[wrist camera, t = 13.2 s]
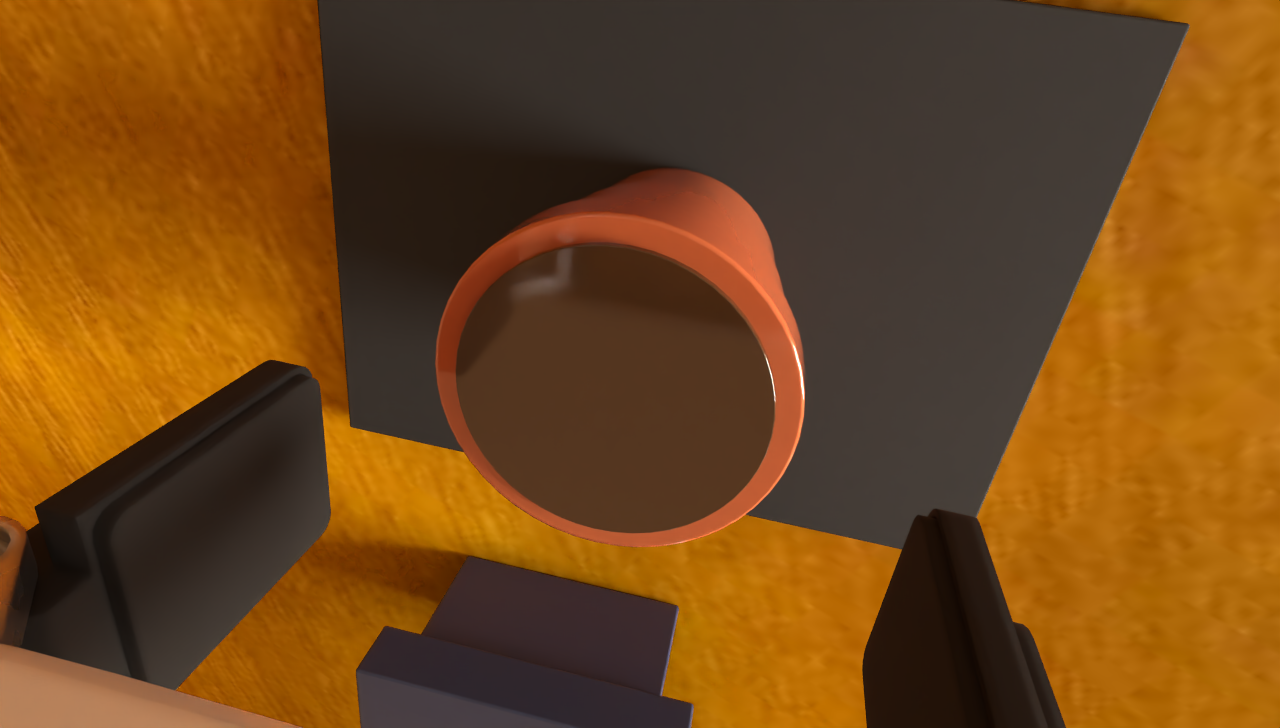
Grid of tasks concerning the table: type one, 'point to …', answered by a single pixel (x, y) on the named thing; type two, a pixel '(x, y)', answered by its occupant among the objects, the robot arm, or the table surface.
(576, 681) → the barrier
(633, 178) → the pot
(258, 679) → the table surface
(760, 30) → the mat
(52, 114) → the table surface
